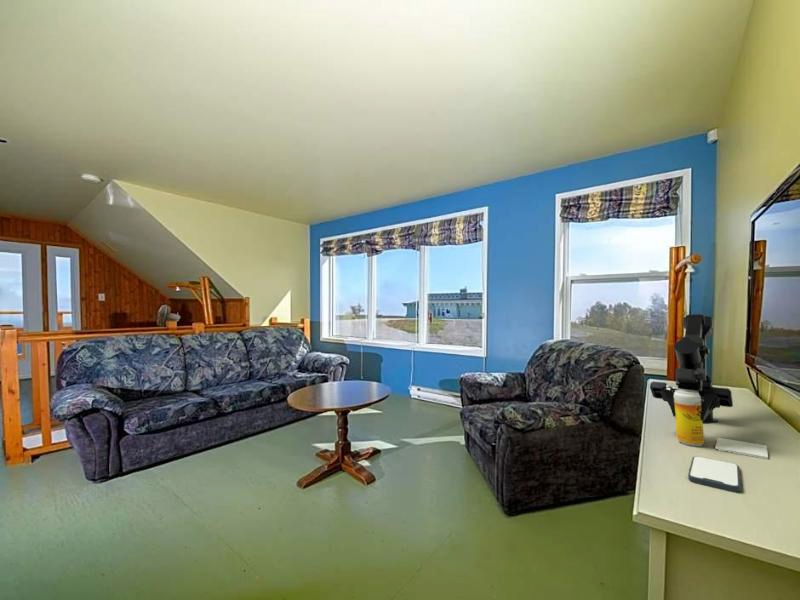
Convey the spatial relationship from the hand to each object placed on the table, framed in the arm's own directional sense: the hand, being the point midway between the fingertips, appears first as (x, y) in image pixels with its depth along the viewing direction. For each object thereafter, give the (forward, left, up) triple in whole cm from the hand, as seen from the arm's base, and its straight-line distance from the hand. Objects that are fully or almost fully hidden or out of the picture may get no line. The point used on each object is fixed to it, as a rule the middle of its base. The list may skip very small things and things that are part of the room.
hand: (687, 417), depth 100 cm
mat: (-9, +7, -8) cm, 14 cm away
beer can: (-1, -1, -8) cm, 8 cm away
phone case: (+14, +15, -8) cm, 22 cm away
